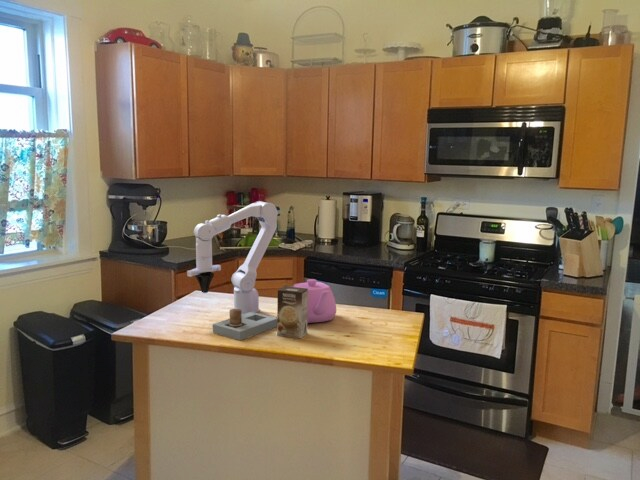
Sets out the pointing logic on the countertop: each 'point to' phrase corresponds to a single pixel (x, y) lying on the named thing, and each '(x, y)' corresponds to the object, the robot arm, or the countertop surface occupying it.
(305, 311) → the coffee box
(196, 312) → the countertop surface
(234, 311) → the walnut peg
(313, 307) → the teapot
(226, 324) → the grey board with holes
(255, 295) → the robot arm
